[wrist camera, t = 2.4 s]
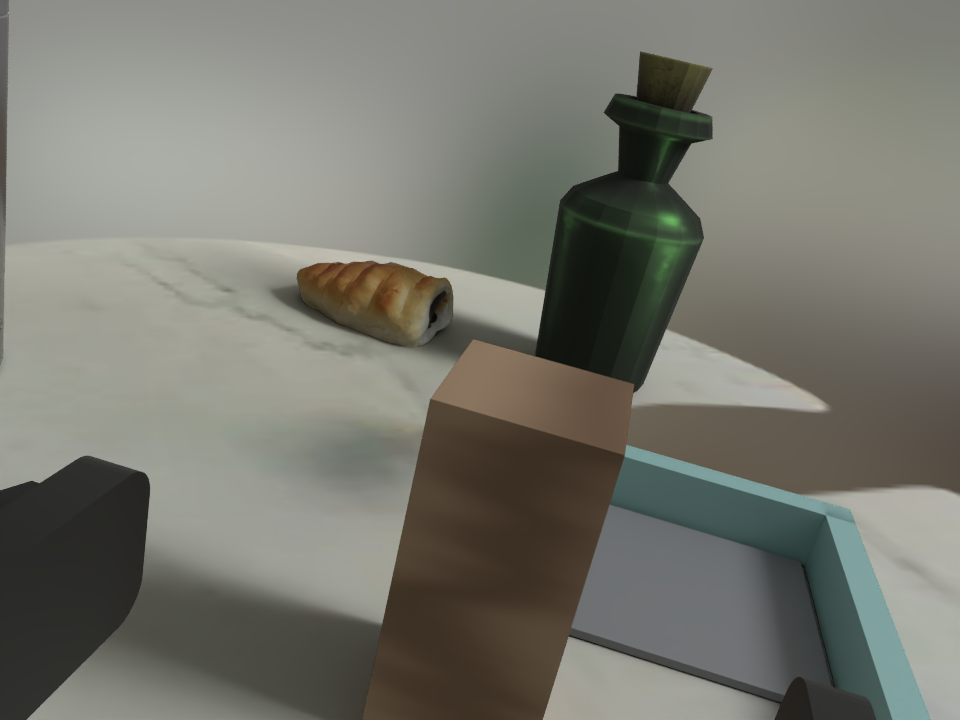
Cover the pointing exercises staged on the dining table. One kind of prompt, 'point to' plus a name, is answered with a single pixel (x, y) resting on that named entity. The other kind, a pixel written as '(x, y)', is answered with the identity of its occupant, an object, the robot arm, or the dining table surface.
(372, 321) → the pastry
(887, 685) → the teal corner fixture
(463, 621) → the walnut block
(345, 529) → the dining table surface
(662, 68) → the potion bottle
